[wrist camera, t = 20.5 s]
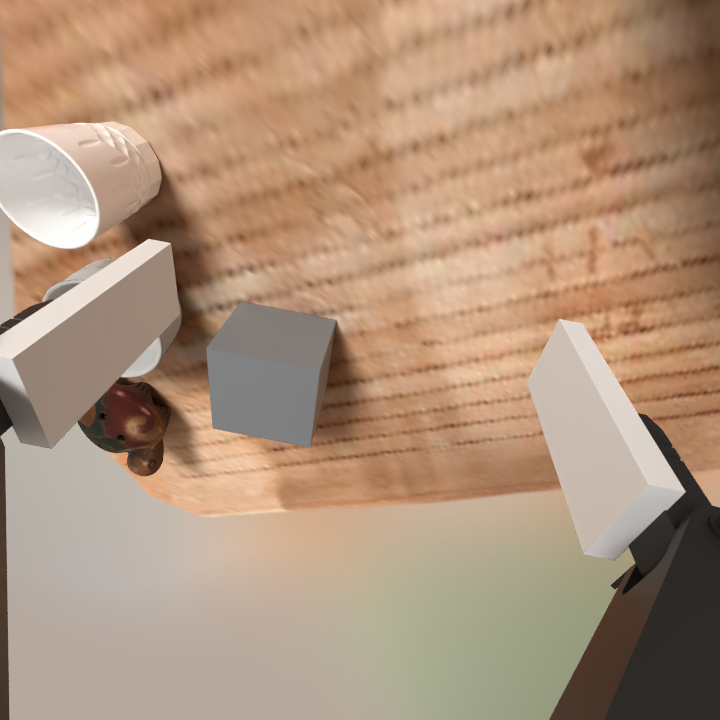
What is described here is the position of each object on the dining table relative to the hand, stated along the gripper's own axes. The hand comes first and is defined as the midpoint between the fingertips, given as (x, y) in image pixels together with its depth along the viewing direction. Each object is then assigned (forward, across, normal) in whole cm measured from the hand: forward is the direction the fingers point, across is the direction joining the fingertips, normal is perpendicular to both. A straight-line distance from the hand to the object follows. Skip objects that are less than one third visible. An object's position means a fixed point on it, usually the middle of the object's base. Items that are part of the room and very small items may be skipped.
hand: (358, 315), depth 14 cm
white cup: (+25, -24, -4) cm, 34 cm away
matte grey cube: (+25, -8, -21) cm, 33 cm away
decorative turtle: (+25, -27, -33) cm, 49 cm away
